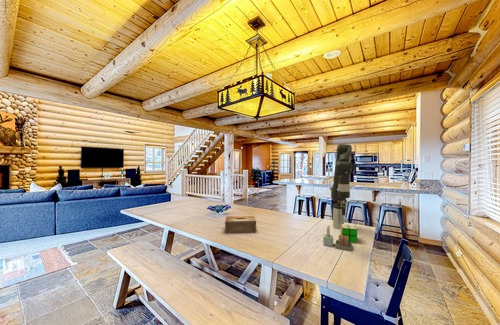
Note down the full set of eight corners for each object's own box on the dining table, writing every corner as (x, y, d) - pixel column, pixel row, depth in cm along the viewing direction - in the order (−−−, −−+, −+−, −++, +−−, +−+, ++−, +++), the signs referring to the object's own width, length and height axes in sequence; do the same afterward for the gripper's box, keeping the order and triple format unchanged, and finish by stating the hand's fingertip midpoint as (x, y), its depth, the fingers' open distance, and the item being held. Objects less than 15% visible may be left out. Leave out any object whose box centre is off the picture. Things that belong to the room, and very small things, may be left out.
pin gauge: (326, 242, 145) (326, 225, 145) (329, 242, 145) (329, 225, 144) (326, 243, 144) (326, 226, 143) (329, 243, 143) (329, 226, 143)
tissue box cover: (225, 233, 166) (225, 221, 166) (226, 227, 181) (226, 216, 181) (256, 232, 168) (256, 220, 168) (254, 226, 182) (254, 215, 182)
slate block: (324, 241, 148) (324, 233, 148) (333, 243, 145) (333, 235, 145) (323, 245, 143) (323, 236, 143) (332, 246, 140) (332, 238, 140)
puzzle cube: (354, 237, 156) (354, 224, 156) (357, 242, 146) (357, 229, 146) (340, 236, 159) (340, 223, 159) (342, 241, 149) (342, 227, 149)
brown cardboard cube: (339, 243, 144) (339, 234, 144) (348, 244, 141) (348, 236, 141) (338, 246, 138) (338, 237, 138) (348, 248, 136) (348, 239, 136)
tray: (336, 242, 146) (336, 239, 146) (351, 245, 142) (351, 242, 142) (335, 248, 137) (335, 245, 137) (351, 251, 133) (351, 248, 133)
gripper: (350, 192, 131) (349, 217, 131) (349, 189, 144) (349, 211, 144) (337, 191, 134) (337, 215, 135) (338, 188, 147) (338, 210, 147)
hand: (343, 213), depth 139 cm, fingers open, 8 cm apart
